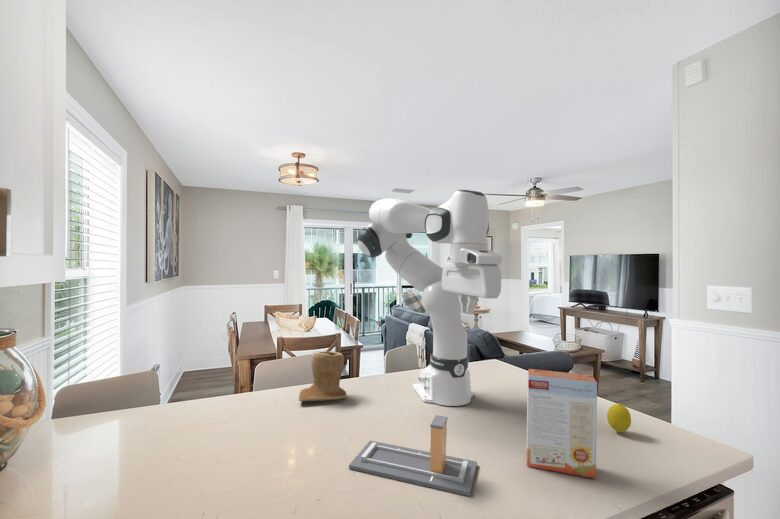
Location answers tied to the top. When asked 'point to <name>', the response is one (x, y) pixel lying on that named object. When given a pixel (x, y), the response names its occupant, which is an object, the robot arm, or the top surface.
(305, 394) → the tan ugg boot
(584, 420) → the cracker box
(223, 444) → the top surface
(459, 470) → the grey fader base
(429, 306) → the robot arm
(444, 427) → the fader cap
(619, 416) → the lemon
